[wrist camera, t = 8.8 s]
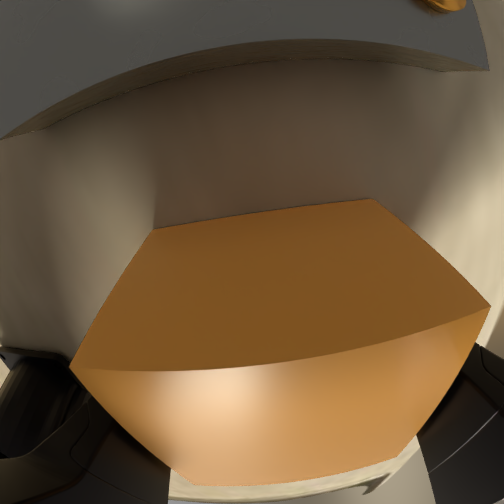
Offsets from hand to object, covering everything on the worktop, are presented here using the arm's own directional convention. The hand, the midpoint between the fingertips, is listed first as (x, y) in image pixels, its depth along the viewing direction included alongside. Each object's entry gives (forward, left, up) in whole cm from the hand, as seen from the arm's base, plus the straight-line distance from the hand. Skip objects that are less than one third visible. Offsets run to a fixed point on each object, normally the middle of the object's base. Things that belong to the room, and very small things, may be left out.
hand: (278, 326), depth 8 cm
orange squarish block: (0, 0, -1) cm, 1 cm away
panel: (0, +17, -1) cm, 17 cm away
